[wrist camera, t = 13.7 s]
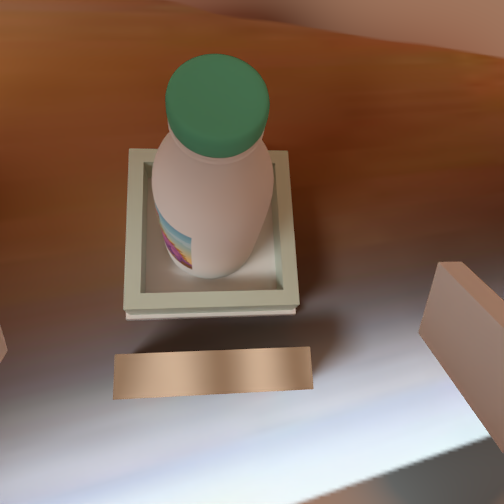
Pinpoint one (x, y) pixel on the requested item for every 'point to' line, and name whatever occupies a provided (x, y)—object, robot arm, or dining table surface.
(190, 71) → the milk bottle
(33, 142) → the dining table surface
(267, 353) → the board
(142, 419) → the dining table surface
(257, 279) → the cradle
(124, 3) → the dining table surface
